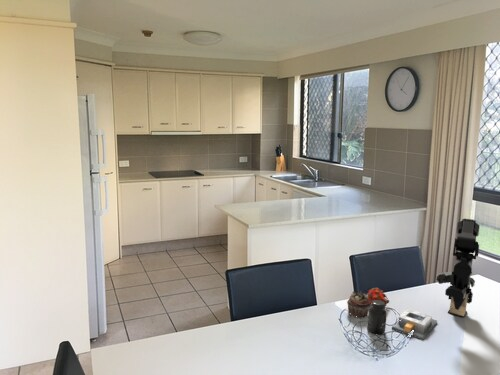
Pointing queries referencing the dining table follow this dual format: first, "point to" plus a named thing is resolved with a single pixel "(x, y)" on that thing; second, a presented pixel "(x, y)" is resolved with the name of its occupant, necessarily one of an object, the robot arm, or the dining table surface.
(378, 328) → the supplement bottle
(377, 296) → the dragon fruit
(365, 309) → the cupcake
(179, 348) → the dining table surface
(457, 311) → the oak wedge
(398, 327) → the grey slotted plate
